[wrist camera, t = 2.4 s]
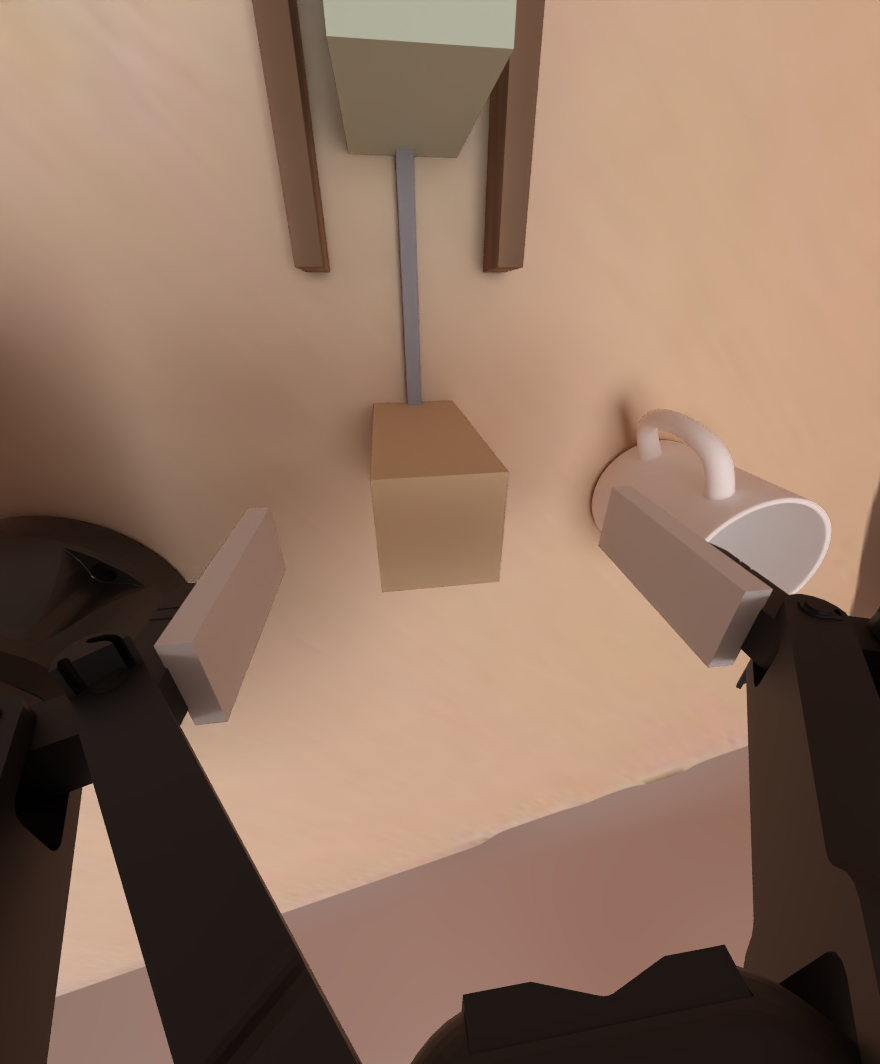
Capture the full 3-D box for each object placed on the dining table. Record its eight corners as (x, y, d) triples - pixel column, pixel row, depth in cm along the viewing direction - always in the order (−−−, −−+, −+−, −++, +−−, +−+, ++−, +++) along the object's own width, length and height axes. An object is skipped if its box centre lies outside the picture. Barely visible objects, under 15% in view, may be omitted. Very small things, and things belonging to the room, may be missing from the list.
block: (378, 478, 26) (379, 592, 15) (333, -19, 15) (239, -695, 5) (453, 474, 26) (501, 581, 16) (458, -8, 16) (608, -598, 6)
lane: (306, 271, 20) (274, 256, 14) (247, -119, 14) (146, -443, 8) (505, 272, 21) (556, 258, 15) (527, -87, 15) (627, -348, 9)
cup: (601, 554, 32) (686, 648, 23) (560, 424, 26) (654, 485, 17) (699, 509, 31) (827, 589, 22) (681, 363, 25) (846, 393, 16)
